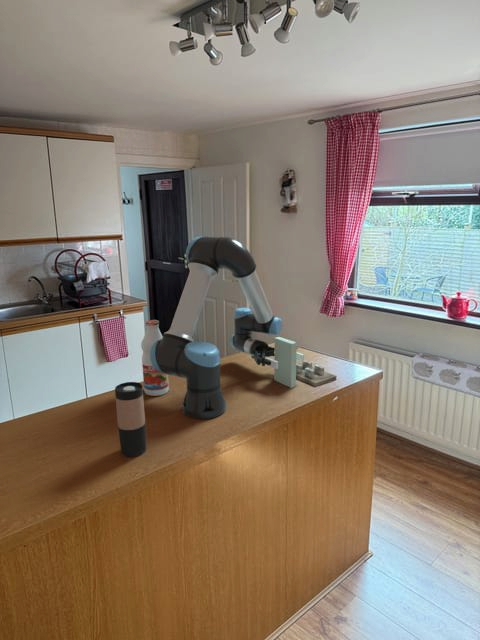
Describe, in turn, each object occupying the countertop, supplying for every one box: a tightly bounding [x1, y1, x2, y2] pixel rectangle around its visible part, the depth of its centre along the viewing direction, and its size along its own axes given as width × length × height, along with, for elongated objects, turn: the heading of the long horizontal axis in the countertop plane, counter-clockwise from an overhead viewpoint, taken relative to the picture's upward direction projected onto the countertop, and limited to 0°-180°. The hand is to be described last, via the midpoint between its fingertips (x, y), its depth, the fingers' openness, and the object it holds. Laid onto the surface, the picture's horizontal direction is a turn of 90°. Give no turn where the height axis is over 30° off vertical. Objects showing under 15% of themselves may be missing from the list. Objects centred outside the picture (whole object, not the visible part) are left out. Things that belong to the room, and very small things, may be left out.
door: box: [273, 336, 299, 389], centre depth 173 cm, size 11×4×18 cm, turn 36°
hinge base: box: [296, 360, 337, 387], centre depth 181 cm, size 20×12×4 cm, turn 36°
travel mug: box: [114, 381, 147, 458], centre depth 125 cm, size 8×8×20 cm
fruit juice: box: [140, 319, 170, 397], centre depth 165 cm, size 9×9×28 cm
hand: (290, 361), depth 170 cm, fingers open, 13 cm apart
